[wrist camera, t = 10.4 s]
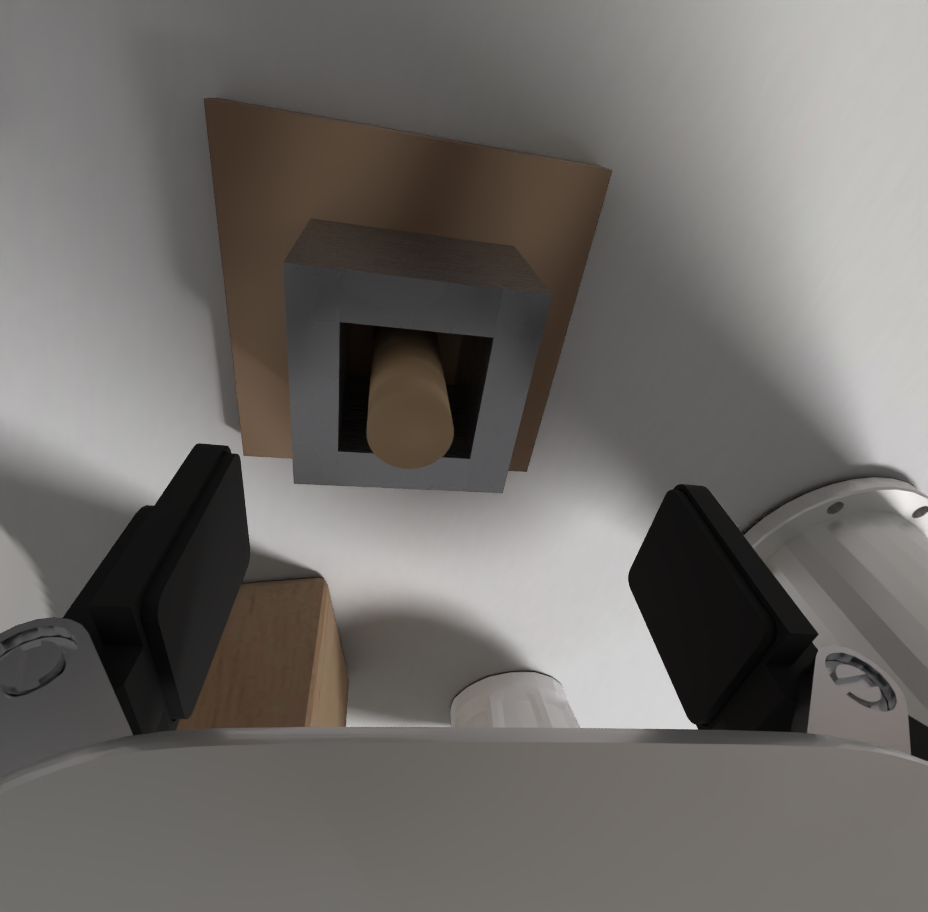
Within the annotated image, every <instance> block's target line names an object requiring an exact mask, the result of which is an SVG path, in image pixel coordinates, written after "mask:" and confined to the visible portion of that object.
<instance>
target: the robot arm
mask: <svg viewBox="0 0 928 912" xmlns="http://www.w3.org/2000/svg"><path fill="white" fill-rule="evenodd" d="M249 558H250V544H249V535H248V526H247V516H246V507H245V498H244V489H243V479H242V470H241V461H240V456H239V455H238V454H233V453H231V450H230V448H229V447H228V446H223V445H211V444H196V445H195V446H194V447H193V449H192V450H191V452H190V453H189V455H188V456H187V458H186V459H185V461H184V462H183V464H182V465H181V467H180V468H179V470H178V471H177V473H176V474H175V476H174V477H173V479H172V480H171V482H170V483H169V485H168V486H167V488H166V489H165V491H164V492H163V494H162V495H161V497H160V498H159V500H158V501H157V503H156V504H155V506H147V505H146V506H144V507H142V508H141V509H140V510H139V511H138V512H137V513H136V514H135V516H134V517H133V519H132V520H131V521H130V523H129V524H128V526H127V527H126V529H125V530H124V531H123V533H122V534H121V536H120V537H119V538H118V540H117V541H116V543H115V544H114V546H113V547H112V548H111V550H110V551H109V553H108V554H107V556H106V557H105V558H104V560H103V561H102V563H101V564H100V566H99V567H98V568H97V570H96V571H95V573H94V574H93V576H92V577H91V578H90V580H89V581H88V583H87V584H86V585H85V587H84V588H83V590H82V591H81V593H80V594H79V595H78V597H77V598H76V600H75V601H74V603H73V604H72V605H71V607H70V608H69V610H68V611H67V613H66V614H65V615H64V617H63V618H55V617H53V618H45V619H37V620H33V621H30V622H27V623H24V624H20V625H17V626H15V627H13V628H11V629H9V630H7V631H5V632H3V633H1V634H0V912H928V497H927V496H926V495H925V494H923V493H922V492H921V491H919V490H918V489H916V488H915V487H913V486H912V485H910V484H909V483H907V482H903V481H900V480H896V479H893V478H879V477H871V478H861V479H852V480H847V481H843V482H839V483H835V484H831V485H827V486H825V487H822V488H819V489H817V490H814V491H811V492H809V493H806V494H804V495H802V496H800V497H798V498H796V499H794V500H792V501H790V502H788V503H786V504H784V505H783V506H781V507H780V508H778V509H776V510H775V511H773V512H772V513H770V514H769V515H767V516H766V517H764V518H763V519H762V520H761V521H759V522H758V523H757V524H756V525H754V526H753V527H752V528H751V529H750V530H748V531H747V532H746V533H745V534H744V536H743V534H742V533H741V532H740V530H739V529H738V528H737V526H736V525H735V524H734V522H733V521H732V520H731V519H730V517H729V516H728V515H727V513H726V512H725V511H724V509H723V508H722V507H721V505H720V504H719V503H718V502H717V500H716V499H715V498H714V496H713V495H712V494H711V492H710V491H709V490H708V489H707V488H706V487H704V486H696V485H684V484H680V485H677V486H676V487H675V488H674V489H673V490H669V491H668V492H667V494H666V495H665V497H664V499H663V501H662V504H661V506H660V508H659V510H658V512H657V514H656V516H655V518H654V520H653V522H652V525H651V527H650V529H649V531H648V533H647V535H646V537H645V539H644V541H643V543H642V546H641V548H640V550H639V552H638V554H637V556H636V558H635V560H634V562H633V564H632V567H631V569H630V571H629V575H628V581H629V586H630V589H631V591H632V593H633V595H634V598H635V600H636V602H637V604H638V607H639V609H640V611H641V614H642V616H643V618H644V620H645V623H646V625H647V627H648V629H649V632H650V634H651V636H652V638H653V641H654V643H655V645H656V647H657V650H658V652H659V654H660V656H661V659H662V661H663V663H664V666H665V668H666V670H667V672H668V675H669V677H670V679H671V681H672V684H673V686H674V688H675V690H676V693H677V695H678V697H679V699H680V702H681V704H682V706H683V708H684V711H685V713H686V715H687V717H688V719H689V720H690V721H691V722H692V723H694V724H696V726H697V728H698V730H689V729H614V728H497V727H265V728H211V729H194V730H177V731H176V728H177V726H178V723H179V721H180V719H189V718H190V717H191V715H192V713H193V711H194V708H195V706H196V703H197V700H198V698H199V695H200V692H201V690H202V687H203V684H204V682H205V679H206V676H207V674H208V671H209V668H210V666H211V663H212V660H213V658H214V655H215V652H216V650H217V647H218V645H219V642H220V639H221V637H222V634H223V631H224V629H225V626H226V623H227V621H228V618H229V615H230V613H231V610H232V607H233V605H234V602H235V599H236V597H237V594H238V591H239V589H240V586H241V583H242V581H243V578H244V575H245V573H246V570H247V567H248V564H249Z"/></svg>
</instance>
